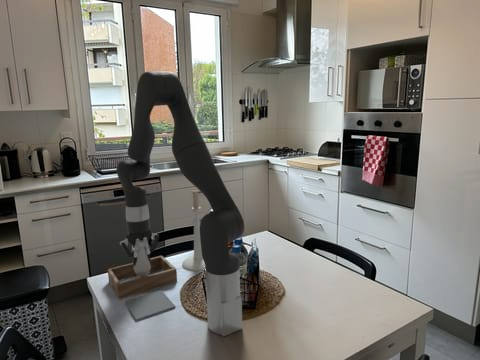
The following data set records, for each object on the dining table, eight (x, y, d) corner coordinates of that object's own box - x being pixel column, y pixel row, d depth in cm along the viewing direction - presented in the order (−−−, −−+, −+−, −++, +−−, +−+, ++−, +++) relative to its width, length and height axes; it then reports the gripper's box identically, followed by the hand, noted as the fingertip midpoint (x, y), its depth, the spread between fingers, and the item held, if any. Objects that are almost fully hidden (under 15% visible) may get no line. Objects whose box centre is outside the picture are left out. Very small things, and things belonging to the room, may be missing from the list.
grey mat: (175, 307, 106) (175, 306, 106) (136, 321, 100) (136, 319, 100) (161, 291, 116) (161, 289, 116) (124, 302, 110) (124, 301, 110)
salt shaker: (133, 279, 118) (130, 243, 116) (134, 272, 124) (131, 237, 121) (151, 276, 120) (148, 241, 117) (151, 269, 125) (148, 235, 123)
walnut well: (177, 282, 122) (176, 268, 121) (119, 299, 112) (117, 285, 111) (162, 267, 134) (161, 255, 133) (108, 282, 123) (107, 269, 122)
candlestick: (196, 274, 128) (192, 195, 122) (175, 264, 136) (171, 190, 130) (221, 263, 137) (219, 188, 131) (200, 254, 145) (197, 184, 140)
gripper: (119, 224, 111) (124, 274, 114) (161, 216, 119) (165, 263, 122) (113, 218, 117) (118, 266, 121) (154, 211, 125) (157, 256, 128)
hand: (142, 264), depth 121 cm, fingers closed on salt shaker, 3 cm apart
